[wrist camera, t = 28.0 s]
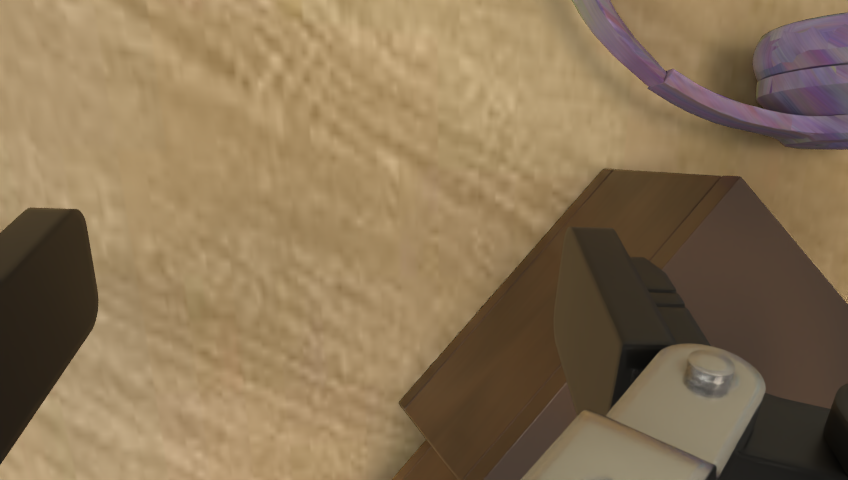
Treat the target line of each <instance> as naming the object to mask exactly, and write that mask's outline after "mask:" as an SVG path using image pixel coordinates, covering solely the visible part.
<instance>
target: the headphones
mask: <svg viewBox="0 0 848 480" xmlns="http://www.w3.org/2000/svg"><path fill="white" fill-rule="evenodd" d="M572 1H573V3H574V5H575V7H576V9H577V10H578V12H579V14H580V16H581V17H582V19H583V20H584V22H585V23H586V24H587V26H588V27H589V28H590V30H591V31H592V33H593V34H594V35H595V36H596V37H597V38H598V39H599V40H600V42H601V43H602V44H603V45H604V46H605V47H606V48H607V49H608V50H609V51H610V52H611V53H612V55H613V56H614V57H616V58H617V59H618V60H619V61H620V62H621V63H622V64H623V65H624V66H626V67H627V68H628V69H629V70H630V71H631V72H632V73H634V74H635V75H636V76H637V77H638V78H639V79H640V80H642V81H643V82H644V83H645V84H646V85H647V86H649V87H648V89H649V90H651V91H653V92H654V93H656V94H657V95H659V96H661V97H662V98H664V99H665V100H667V101H669V102H670V103H672V104H674V105H676V106H678V107H680V108H681V109H683V110H685V111H687V112H689V113H691V114H694V115H696V116H699V117H701V118H703V119H706V120H709V121H711V122H714V123H717V124H720V125H723V126H727V127H731V128H735V129H740V130H744V131H749V132H753V133H758V134H762V135H766V136H769V137H773V138H775V139H777V140H779V141H780V142H781V143H782V144H783V145H784V146H786V147H792V148H800V149H848V13H841V14H834V15H828V16H822V17H817V18H812V19H806V20H802V21H798V22H794V23H791V24H787V25H784V26H781V27H779V28H776V29H774V30H772V31H770V32H768V33H767V34H765V35H764V36H763V37H762V38H761V39H760V41H759V43H758V44H757V46H756V49H755V52H754V55H753V70H754V73H755V76H756V78H757V80H758V83H757V84H756V101H757V102H758V103H759V104H760V105H761V106H762V107H763V108H764V109H762V108H759V107H755V106H751V105H747V104H744V103H740V102H737V101H735V100H732V99H729V98H727V97H724V96H722V95H719V94H716V93H714V92H712V91H710V90H708V89H706V88H704V87H702V86H700V85H698V84H696V83H695V82H693V81H692V80H690V79H688V78H687V77H685V76H684V75H682V74H681V73H679V72H678V71H676V70H675V69H671V70H668V71H665V70H664V69H663V68H662V67H661V66H660V65H659V64H658V62H657V61H656V60H655V59H654V58H653V57H652V56H651V55H650V54H649V53H648V52H647V51H646V49H645V48H644V47H643V46H642V45H641V44H640V43H639V42H638V41H637V40H636V39H635V37H634V36H633V34H632V33H631V32H630V30H629V29H628V28H627V26H626V25H625V23H624V22H623V21H622V19H621V18H620V17H619V15H618V14H617V12H616V11H615V9H614V7H613V5H612V3H611V1H610V0H572Z"/></svg>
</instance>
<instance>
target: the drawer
mask: <svg viewBox="0 0 848 480" xmlns="http://www.w3.org/2000/svg"><path fill="white" fill-rule="evenodd" d="M392 480H458V479H457V478H456V477H455V476H454V474H453V473H452V472H451V470H450V469H449V468H448V467H447V465H446V464H445V463H444V461H443V460H442V459H441V458H440V456H439V455H438V454H437V452H436V451H435V450H434V448H433V447H432V446H431V445H430V443H429V442H428V441H427V439H426V441H425V442H424V443H423V444H422V445H421V446H420V448H419V449H418V450H417V451H416V452H415V453H414V454H413V456H412V457H411V458H410V459H409V460H408V461H407V463H406V464H405V465H404V466H403V467H402V468H401V470H400V471H399V472H398V473H397V474H396V475H395V476H394V478H393V479H392Z"/></svg>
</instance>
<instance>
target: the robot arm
mask: <svg viewBox="0 0 848 480" xmlns="http://www.w3.org/2000/svg"><path fill="white" fill-rule="evenodd" d="M97 312H98V291H97V285H96V279H95V273H94V267H93V261H92V255H91V249H90V243H89V237H88V231H87V226H86V221H85V218H84V216H83V214H82V213H81V212H80V211H79V210H77V209H54V208H28V209H26V210H25V211H24V212H23V213H22V214H21V215H20V216H18V217H17V218H16V219H15V220H14V221H13V222H12V223H11V224H10V225H9V226H7V227H6V228H5V229H4V230H3V231H2V232H1V233H0V464H1V463H2V461H3V460H4V459H5V457H6V456H7V454H8V453H9V451H10V450H11V448H12V447H13V445H14V444H15V442H16V441H17V439H18V438H19V436H20V435H21V434H22V432H23V431H24V429H25V428H26V426H27V425H28V423H29V422H30V420H31V419H32V417H33V416H34V414H35V413H36V411H37V410H38V409H39V407H40V406H41V404H42V403H43V401H44V400H45V398H46V397H47V395H48V394H49V392H50V391H51V389H52V388H53V386H54V385H55V384H56V382H57V381H58V379H59V378H60V376H61V375H62V373H63V372H64V370H65V369H66V367H67V366H68V364H69V363H70V361H71V360H72V359H73V357H74V356H75V354H76V353H77V351H78V350H79V348H80V347H81V345H82V344H83V342H84V341H85V339H86V338H87V336H88V335H89V334H90V332H91V330H92V329H93V326H94V324H95V321H96V317H97ZM554 338H555V344H556V347H557V351H558V354H559V357H560V361H561V364H562V367H563V371H564V374H565V377H566V381H567V384H568V387H569V391H570V394H571V397H572V401H573V404H574V408H575V411H576V414H577V417H576V418H575V419H574V420H573V421H572V423H571V424H570V425H569V426H568V427H567V428H566V429H565V430H564V432H563V433H562V434H561V435H560V436H559V437H558V438H557V439H556V441H555V442H554V443H553V444H552V445H551V446H550V447H549V448H548V450H547V451H546V452H545V453H544V454H543V455H542V456H541V457H540V459H539V460H538V461H537V462H536V463H535V464H534V465H533V466H532V468H531V469H530V470H529V471H528V472H527V473H526V474H525V475H524V477H523V478H522V479H521V480H848V383H847V384H845V385H843V386H841V387H840V388H839V389H838V391H837V393H836V395H835V398H834V401H833V404H832V406H831V409H829V408H824V407H820V406H815V405H811V404H806V403H802V402H797V401H793V400H788V399H784V398H780V397H777V396H774V395H771V394H768V393H765V390H766V386H765V382H764V379H763V377H762V376H761V374H760V373H759V372H758V371H757V369H756V368H755V367H753V366H752V365H751V364H750V363H748V362H747V361H745V360H744V359H742V358H741V357H739V356H737V355H735V354H733V353H730V352H728V351H726V350H723V349H720V348H716V347H712V346H711V345H710V343H709V342H708V340H707V339H706V337H705V335H704V334H703V332H702V331H701V329H700V327H699V326H698V324H697V322H696V321H695V319H694V318H693V316H692V314H691V313H690V311H689V310H688V308H685V303H684V301H683V300H682V298H681V297H680V295H679V293H676V288H675V287H674V285H673V284H672V282H671V280H670V279H669V277H668V276H667V274H666V272H664V271H663V270H661V269H660V268H658V267H657V266H656V265H654V264H653V263H651V262H650V261H649V260H647V259H646V258H644V257H629V255H628V253H627V251H626V249H625V247H624V246H623V244H622V242H621V240H620V238H619V237H618V235H617V233H616V231H615V230H614V229H613V228H599V227H568V228H567V230H566V233H565V236H564V241H563V248H562V256H561V263H560V270H559V277H558V284H557V292H556V299H555V306H554Z"/></svg>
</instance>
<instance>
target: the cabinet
mask: <svg viewBox="0 0 848 480" xmlns="http://www.w3.org/2000/svg"><path fill="white" fill-rule="evenodd" d="M568 227H599V228H613V229H614V230H615V231H616V233H617V235H618V237H619V238H620V240H621V242H622V244H623V246H624V247H625V249H626V251H627V253H628V255H629V257H644V258H646V259H647V260H649V261H650V262H651V263H653V264H654V265H656V266H657V267H658V268H660V269H661V270H663V271H664V272H666V274H667V276H668V277H669V279H670V280H671V282H672V284H673V285H674V287H675V288H676V293H679V295H680V297H681V298H682V300H683V301H684V303H685V308H688V310H689V311H690V313H691V314H692V316H693V318H694V319H695V321H696V322H697V324H698V326H699V327H700V329H701V331H702V332H703V334H704V335H705V337H706V339H707V340H708V342H709V343H710V345H711V346H712V347H716V348H720V349H723V350H726V351H728V352H730V353H733V354H735V355H737V356H739V357H741V358H742V359H744V360H745V361H747V362H748V363H750V364H751V365H752V366H753V367H755V368H756V369H757V371H758V372H759V373H760V374H761V376H762V377H763V379H764V382H765V386H766V390H765V393H768V394H771V395H774V396H777V397H780V398H784V399H788V400H793V401H797V402H802V403H806V404H811V405H815V406H820V407H824V408H829V409H831V406H832V404H833V401H834V398H835V395H836V393H837V391H838V389H839V388H840V387H841V386H843V385H845V384H847V383H848V304H847V303H846V302H845V301H844V299H843V298H842V297H841V296H840V295H839V293H838V292H837V291H836V290H835V289H834V288H833V286H832V285H831V284H830V283H829V282H828V280H827V279H826V278H825V277H824V276H823V274H822V273H821V272H820V271H819V270H818V268H817V267H816V266H815V265H814V264H813V262H812V261H811V260H810V259H809V258H808V256H807V255H806V254H805V253H804V252H803V250H802V249H801V248H800V247H799V246H798V245H797V243H796V242H795V241H794V240H793V239H792V237H791V236H790V235H789V234H788V233H787V231H786V230H785V229H784V228H783V227H782V225H781V224H780V223H779V222H778V221H777V219H776V218H775V217H774V216H773V215H772V213H771V212H770V211H769V210H768V209H767V207H766V206H765V205H764V204H763V203H762V202H761V200H760V199H759V198H758V197H757V196H756V194H755V193H754V192H753V191H752V190H751V188H750V187H749V186H748V185H747V184H746V182H745V181H744V180H743V179H742V178H741V177H738V176H713V175H697V174H680V173H664V172H648V171H632V170H616V169H615V170H614V169H603V170H602V171H601V172H600V173H599V175H598V176H597V177H596V178H595V179H594V180H593V181H592V183H591V184H590V185H589V186H588V187H587V188H586V189H585V191H584V192H583V193H582V194H581V195H580V196H579V197H578V198H577V200H576V201H575V202H574V203H573V204H572V205H571V206H570V208H569V209H568V210H567V211H566V212H565V213H564V214H563V216H562V217H561V218H560V219H559V220H558V221H557V222H556V224H555V225H554V226H553V227H552V228H551V229H550V230H549V232H548V233H547V234H546V235H545V236H544V237H543V238H542V240H541V241H540V242H539V243H538V244H537V245H536V246H535V248H534V249H533V250H532V251H531V252H530V253H529V254H528V256H527V257H526V258H525V259H524V260H523V261H522V262H521V264H520V265H519V266H518V267H517V268H516V269H515V270H514V272H513V273H512V274H511V275H510V276H509V277H508V278H507V280H506V281H505V282H504V283H503V284H502V285H501V286H500V288H499V289H498V290H497V291H496V292H495V293H494V294H493V296H492V297H491V298H490V299H489V300H488V301H487V302H486V304H485V305H484V306H483V307H482V308H481V309H480V310H479V312H478V313H477V314H476V315H475V316H474V317H473V318H472V320H471V321H470V322H469V323H468V324H467V325H466V326H465V328H464V329H463V330H462V331H461V332H460V333H459V334H458V336H457V337H456V338H455V339H454V340H453V341H452V342H451V344H450V345H449V346H448V347H447V348H446V349H445V350H444V352H443V353H442V354H441V355H440V356H439V357H438V358H437V360H436V361H435V362H434V363H433V364H432V365H431V366H430V368H429V369H428V370H427V371H426V372H425V373H424V374H423V376H422V377H421V378H420V379H419V380H418V381H417V382H416V384H415V385H414V386H413V387H412V388H411V389H410V390H409V392H408V393H407V394H406V395H405V396H404V397H403V398H402V400H401V401H400V402H399V404H400V406H401V407H402V408H403V410H404V411H405V412H406V414H407V415H408V416H409V417H410V419H411V420H412V421H413V423H414V424H415V425H416V427H417V428H418V429H419V430H420V432H421V433H422V434H423V436H424V437H425V438H426V439H427V441H428V442H429V443H430V445H431V446H432V447H433V448H434V450H435V451H436V452H437V454H438V455H439V456H440V458H441V459H442V460H443V461H444V463H445V464H446V465H447V467H448V468H449V469H450V470H451V472H452V473H453V474H454V476H455V477H456V478H457V479H458V480H521V479H522V478H523V477H524V475H525V474H526V473H527V472H528V471H529V470H530V469H531V468H532V466H533V465H534V464H535V463H536V462H537V461H538V460H539V459H540V457H541V456H542V455H543V454H544V453H545V452H546V451H547V450H548V448H549V447H550V446H551V445H552V444H553V443H554V442H555V441H556V439H557V438H558V437H559V436H560V435H561V434H562V433H563V432H564V430H565V429H566V428H567V427H568V426H569V425H570V424H571V423H572V421H573V420H574V419H575V418H576V417H577V414H576V411H575V408H574V404H573V401H572V397H571V394H570V391H569V387H568V384H567V381H566V377H565V374H564V371H563V367H562V364H561V361H560V357H559V354H558V351H557V347H556V344H555V338H554V306H555V299H556V292H557V284H558V277H559V270H560V263H561V256H562V248H563V241H564V236H565V233H566V230H567V228H568Z"/></svg>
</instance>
